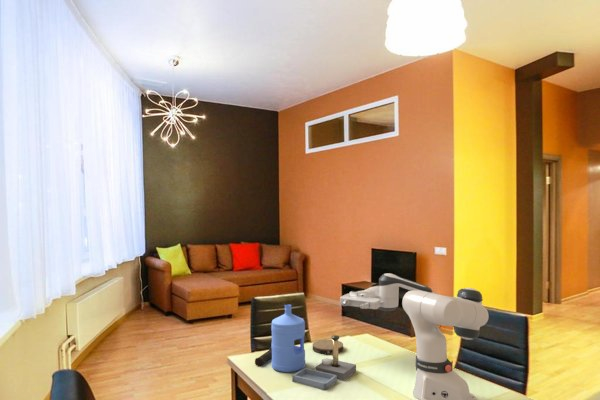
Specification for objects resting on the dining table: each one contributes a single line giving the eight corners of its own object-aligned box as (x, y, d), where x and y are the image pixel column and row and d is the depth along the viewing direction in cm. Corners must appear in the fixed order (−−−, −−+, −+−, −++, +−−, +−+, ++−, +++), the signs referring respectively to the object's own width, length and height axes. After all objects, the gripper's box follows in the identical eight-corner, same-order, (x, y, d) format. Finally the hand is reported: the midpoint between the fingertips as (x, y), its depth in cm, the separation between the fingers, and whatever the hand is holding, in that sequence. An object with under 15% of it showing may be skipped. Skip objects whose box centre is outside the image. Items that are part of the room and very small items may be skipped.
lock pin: (341, 372, 177) (340, 336, 178) (337, 374, 174) (336, 338, 175) (334, 370, 179) (333, 334, 180) (330, 373, 176) (330, 336, 177)
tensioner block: (356, 371, 178) (355, 361, 178) (343, 380, 168) (343, 369, 168) (328, 365, 186) (328, 355, 186) (315, 373, 176) (315, 363, 176)
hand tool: (262, 367, 184) (262, 357, 184) (254, 366, 186) (254, 355, 186) (281, 354, 201) (281, 345, 202) (274, 353, 203) (274, 344, 203)
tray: (337, 381, 167) (337, 375, 167) (325, 390, 159) (325, 383, 159) (305, 373, 176) (305, 367, 176) (292, 381, 168) (292, 375, 168)
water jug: (270, 373, 177) (270, 309, 178) (272, 360, 192) (271, 301, 193) (306, 372, 177) (305, 308, 178) (304, 359, 193) (304, 301, 194)
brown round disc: (311, 345, 215) (311, 339, 215) (340, 344, 216) (340, 338, 216) (314, 355, 199) (314, 349, 199) (345, 354, 200) (345, 348, 200)
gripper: (385, 308, 195) (372, 315, 184) (348, 303, 207) (334, 309, 196) (384, 295, 195) (372, 301, 184) (348, 290, 207) (334, 296, 196)
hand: (352, 305), depth 190 cm, fingers open, 8 cm apart
